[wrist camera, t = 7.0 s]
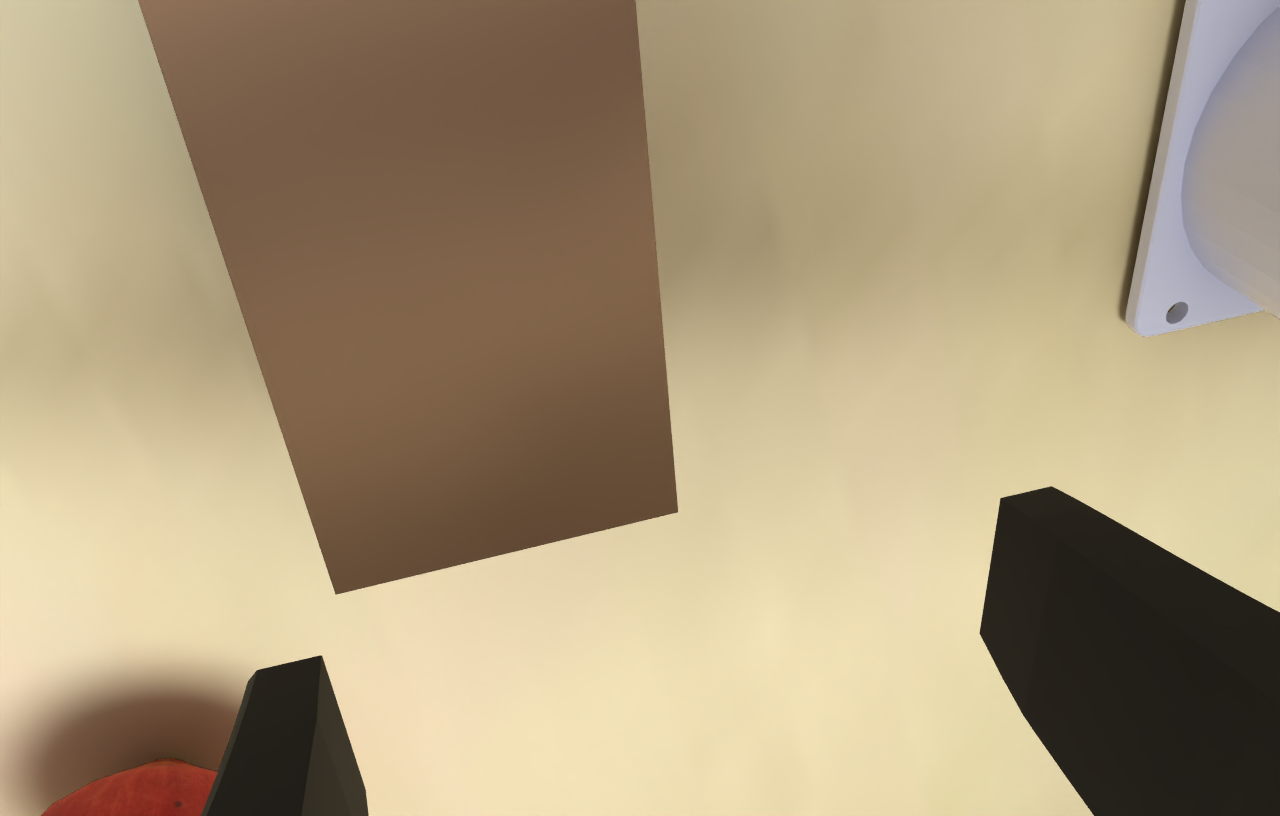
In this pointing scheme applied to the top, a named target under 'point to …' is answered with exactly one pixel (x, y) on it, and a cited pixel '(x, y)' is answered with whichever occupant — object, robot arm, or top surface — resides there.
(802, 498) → the top surface
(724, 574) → the top surface
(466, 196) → the wooden block
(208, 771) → the onion
